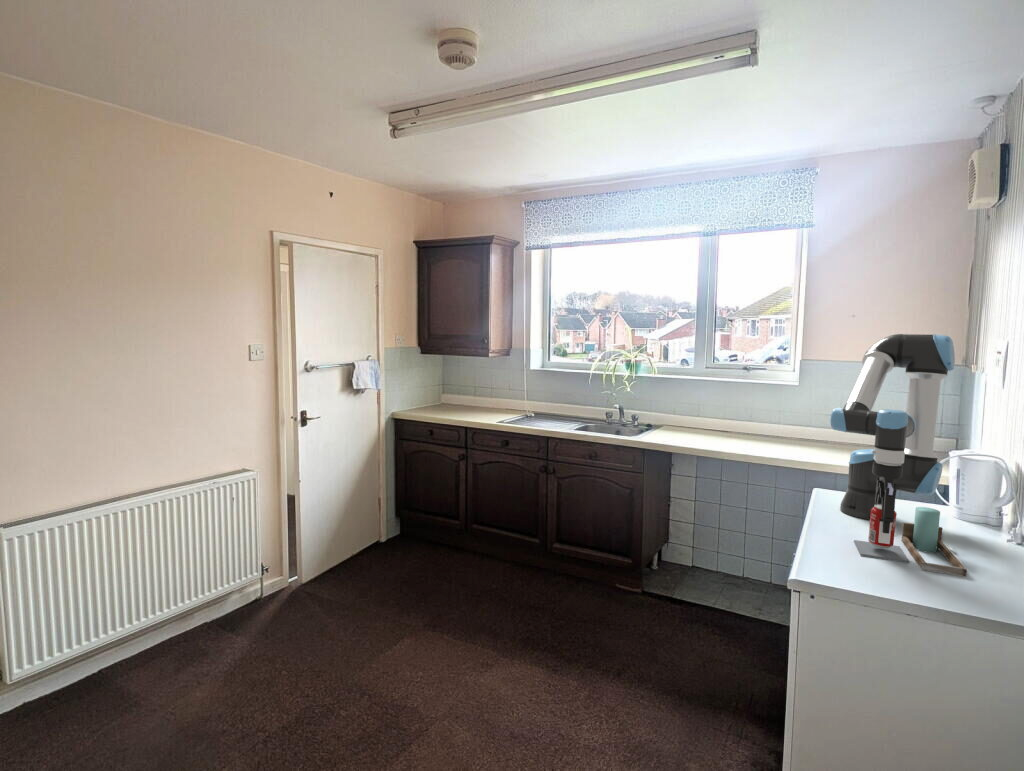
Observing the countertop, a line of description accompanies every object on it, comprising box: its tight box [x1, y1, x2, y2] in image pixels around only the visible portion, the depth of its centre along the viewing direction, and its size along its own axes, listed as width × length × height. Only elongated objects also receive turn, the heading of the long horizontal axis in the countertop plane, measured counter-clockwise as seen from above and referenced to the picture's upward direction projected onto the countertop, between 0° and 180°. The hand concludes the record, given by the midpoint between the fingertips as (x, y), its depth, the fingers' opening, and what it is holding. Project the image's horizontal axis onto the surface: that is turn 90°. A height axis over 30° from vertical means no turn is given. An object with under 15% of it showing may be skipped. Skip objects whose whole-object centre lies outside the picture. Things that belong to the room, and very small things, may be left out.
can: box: [912, 506, 941, 553], centre depth 174 cm, size 6×6×12 cm
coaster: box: [853, 539, 910, 564], centre depth 171 cm, size 12×12×1 cm
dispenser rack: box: [901, 522, 968, 577], centre depth 167 cm, size 24×10×6 cm, turn 157°
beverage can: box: [868, 504, 897, 549], centre depth 171 cm, size 6×6×12 cm
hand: (881, 538), depth 171 cm, fingers closed on beverage can, 6 cm apart
